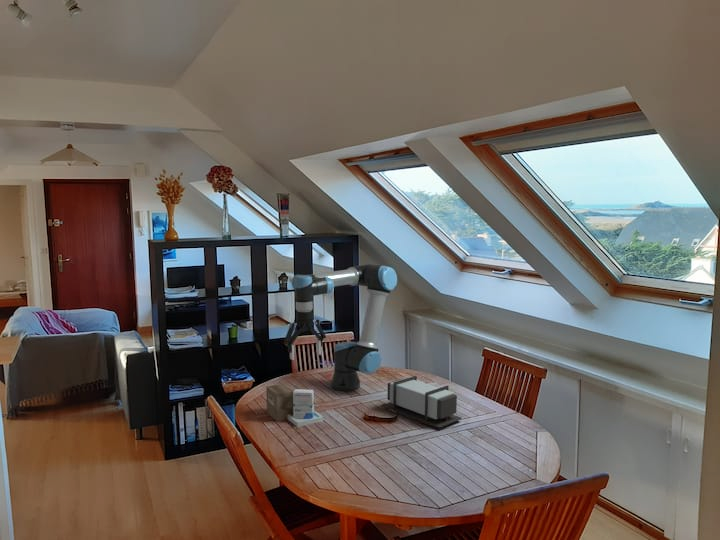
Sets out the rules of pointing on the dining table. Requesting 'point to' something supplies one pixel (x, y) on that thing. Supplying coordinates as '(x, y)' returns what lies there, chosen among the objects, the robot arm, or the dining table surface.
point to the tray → (305, 420)
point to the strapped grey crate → (422, 402)
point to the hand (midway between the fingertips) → (305, 356)
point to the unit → (279, 401)
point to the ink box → (303, 403)
